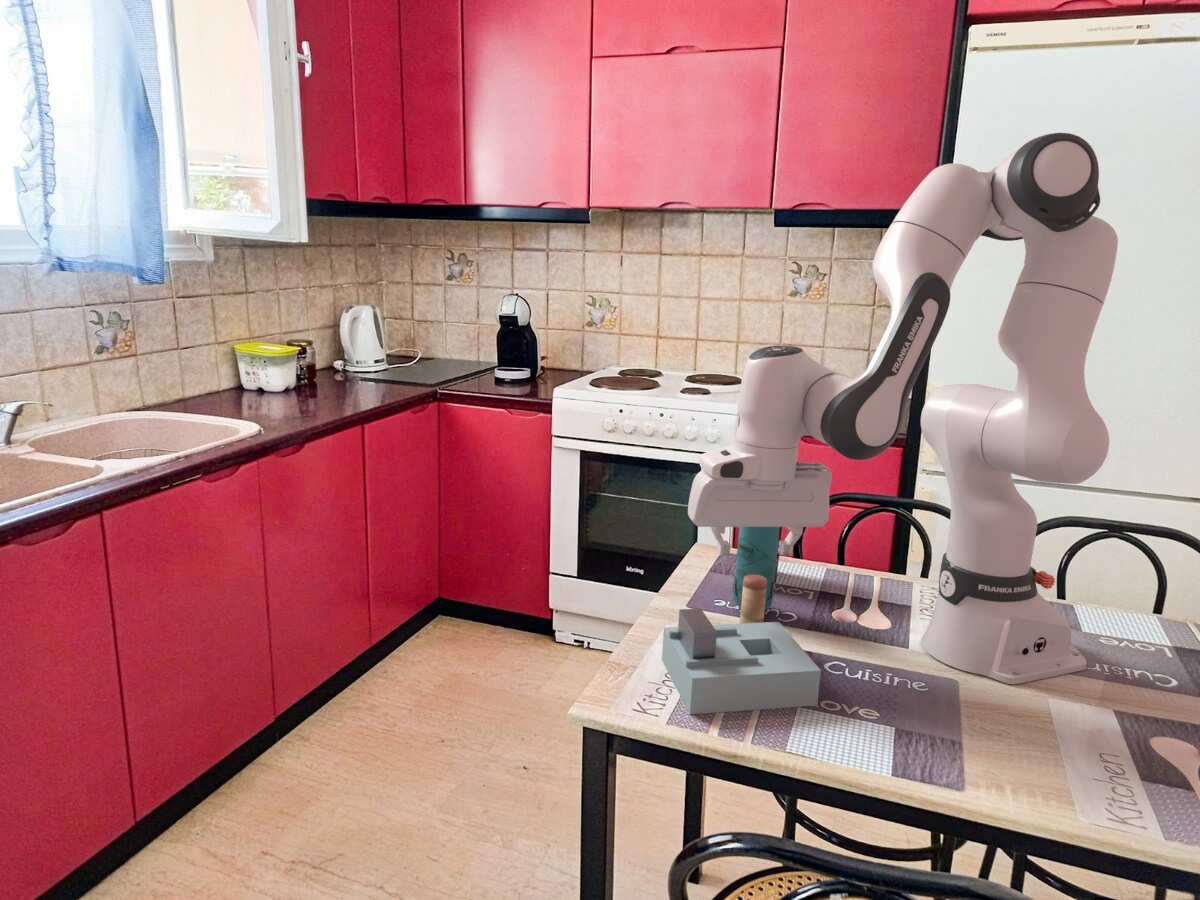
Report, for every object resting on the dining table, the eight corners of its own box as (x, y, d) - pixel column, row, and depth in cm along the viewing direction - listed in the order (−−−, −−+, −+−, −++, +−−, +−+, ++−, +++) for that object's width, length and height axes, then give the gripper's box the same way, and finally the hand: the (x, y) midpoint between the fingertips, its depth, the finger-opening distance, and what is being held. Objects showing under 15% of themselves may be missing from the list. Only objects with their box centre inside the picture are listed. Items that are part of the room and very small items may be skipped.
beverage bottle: (742, 599, 140) (752, 483, 135) (779, 610, 136) (791, 492, 132) (723, 612, 135) (733, 492, 130) (761, 624, 131) (773, 501, 126)
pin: (756, 635, 127) (762, 574, 125) (764, 646, 124) (770, 583, 122) (735, 637, 127) (740, 574, 124) (742, 647, 124) (748, 584, 121)
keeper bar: (698, 635, 115) (700, 608, 114) (714, 660, 108) (717, 632, 107) (677, 636, 115) (679, 609, 114) (692, 661, 108) (694, 633, 107)
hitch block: (775, 653, 122) (779, 616, 121) (817, 705, 109) (821, 664, 107) (661, 660, 119) (664, 622, 118) (689, 714, 106) (692, 672, 104)
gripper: (823, 457, 124) (812, 546, 127) (689, 454, 120) (681, 546, 123) (843, 468, 118) (830, 561, 121) (702, 466, 114) (693, 562, 117)
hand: (754, 554), depth 122 cm, fingers open, 8 cm apart
